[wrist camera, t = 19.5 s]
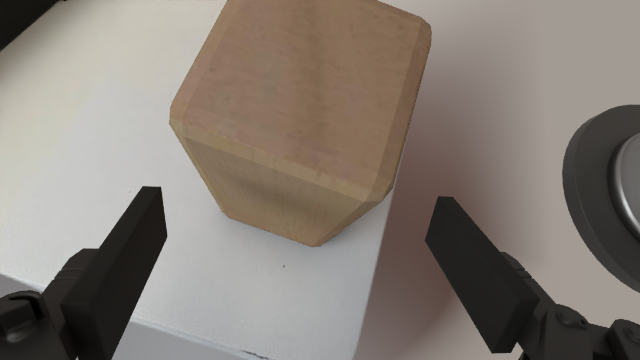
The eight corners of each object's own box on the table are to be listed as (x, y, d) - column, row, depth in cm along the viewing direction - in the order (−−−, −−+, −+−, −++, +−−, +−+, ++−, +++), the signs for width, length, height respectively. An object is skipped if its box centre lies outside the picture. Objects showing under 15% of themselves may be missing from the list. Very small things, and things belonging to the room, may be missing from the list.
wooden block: (350, 158, 36) (444, 15, 17) (320, 251, 33) (395, 204, 14) (258, 125, 35) (249, -60, 16) (219, 215, 32) (151, 116, 13)
